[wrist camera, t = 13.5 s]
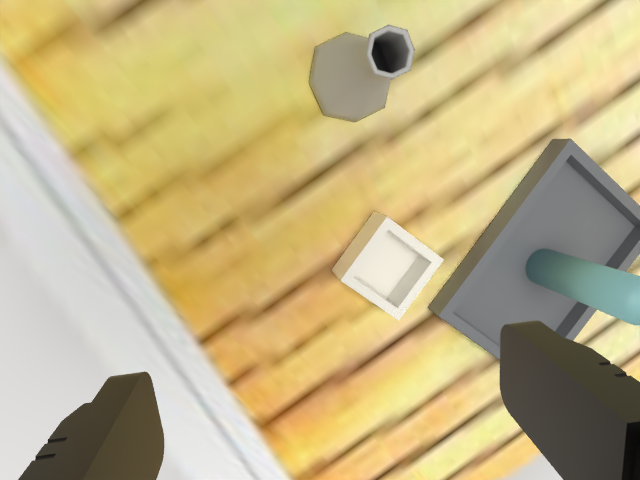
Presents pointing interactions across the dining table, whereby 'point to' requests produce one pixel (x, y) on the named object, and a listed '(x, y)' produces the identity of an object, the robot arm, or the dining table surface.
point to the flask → (359, 71)
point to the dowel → (587, 283)
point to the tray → (537, 233)
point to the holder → (386, 265)
